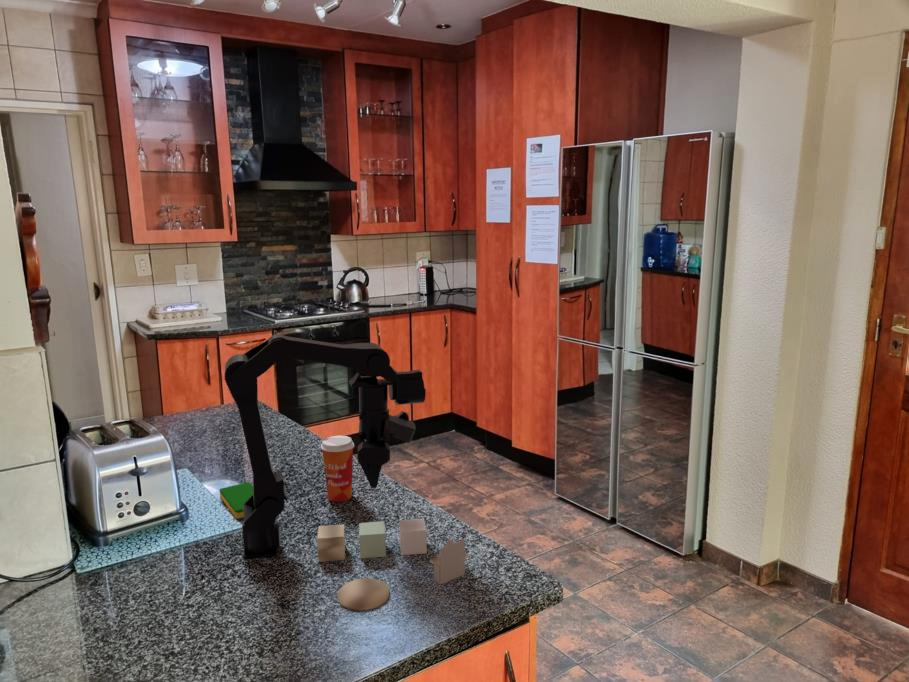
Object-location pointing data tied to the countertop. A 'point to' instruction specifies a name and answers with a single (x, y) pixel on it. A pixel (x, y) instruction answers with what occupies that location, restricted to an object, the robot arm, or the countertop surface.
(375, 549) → the sage block
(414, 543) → the offwhite block
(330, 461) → the paper cup
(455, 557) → the architectural model
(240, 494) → the dish sponge
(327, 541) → the maple block
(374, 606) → the coaster
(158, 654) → the countertop surface
